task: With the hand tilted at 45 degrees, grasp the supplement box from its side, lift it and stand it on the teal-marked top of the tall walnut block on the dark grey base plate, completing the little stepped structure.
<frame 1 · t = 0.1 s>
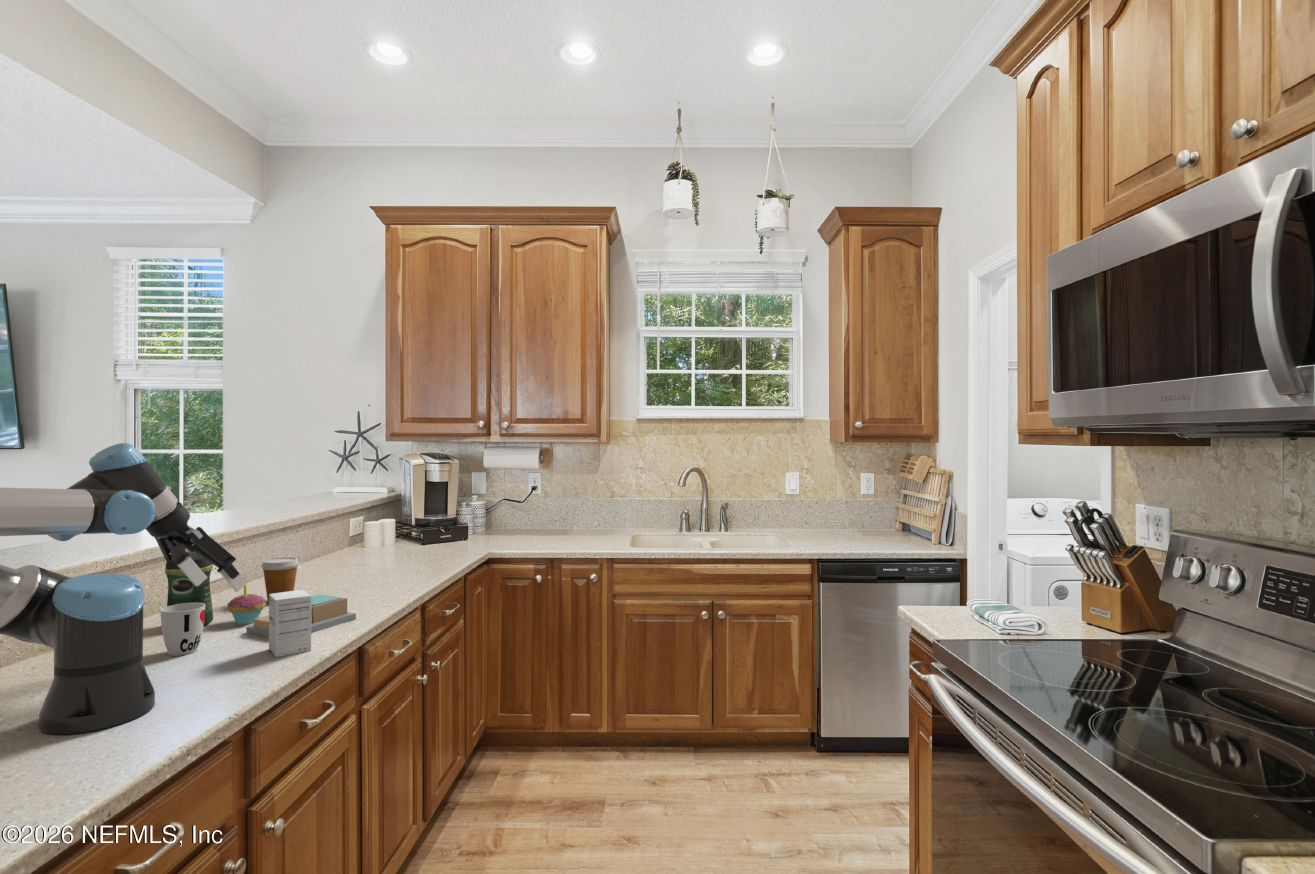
hand: (221, 584, 144), 15 cm above the worktop, tool tilted 35°, fingers open, 13 cm apart
coffee jar: (189, 626, 165), on the worktop
cupcake: (246, 622, 168), on the worktop
disposable coffee cup: (280, 601, 189), on the worktop
supplement box: (289, 651, 147), on the worktop
cup: (182, 652, 145), on the worktop
build base: (303, 625, 165), on the worktop
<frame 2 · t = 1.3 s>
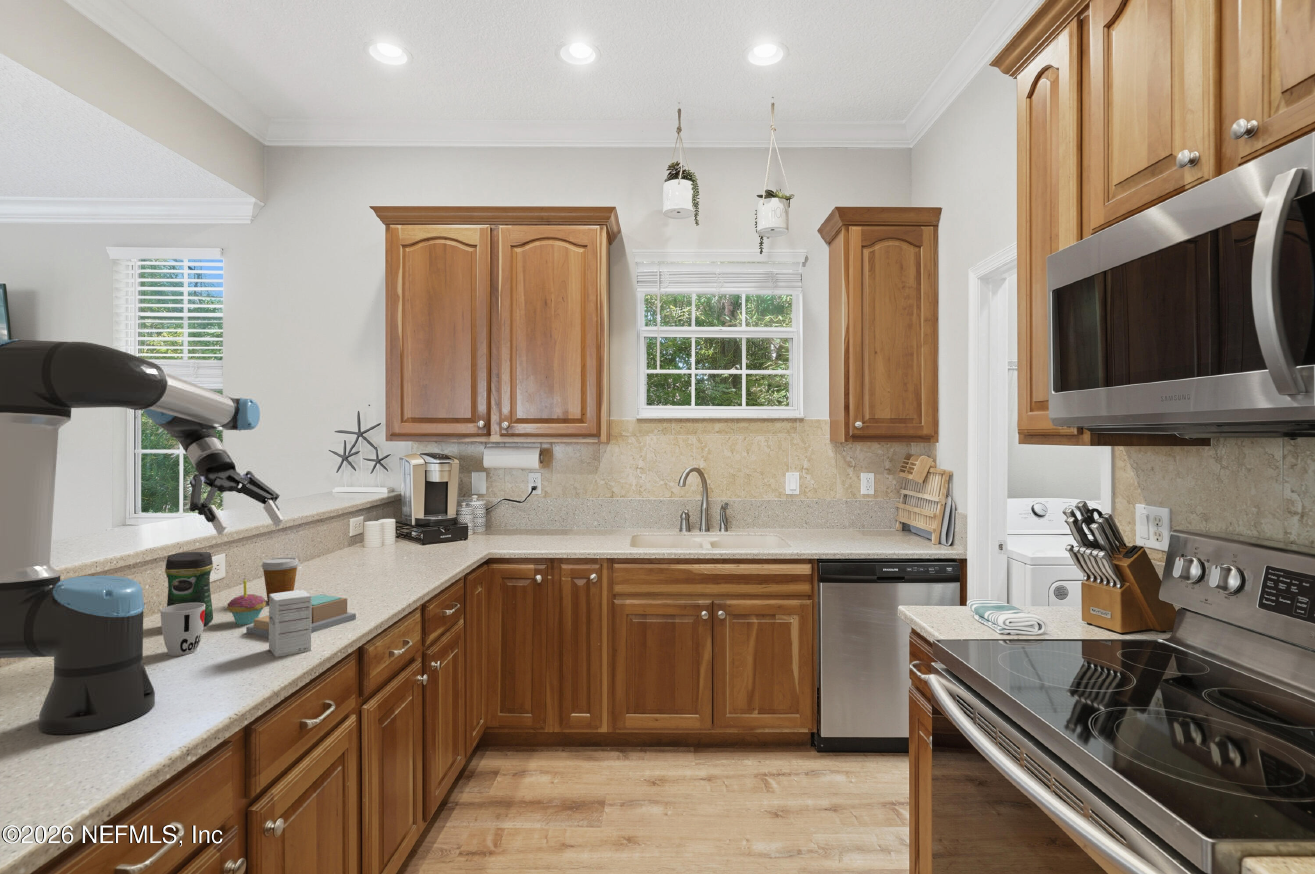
hand: (252, 527, 152), 27 cm above the worktop, tool tilted 45°, fingers open, 13 cm apart
nothing on the worktop moved.
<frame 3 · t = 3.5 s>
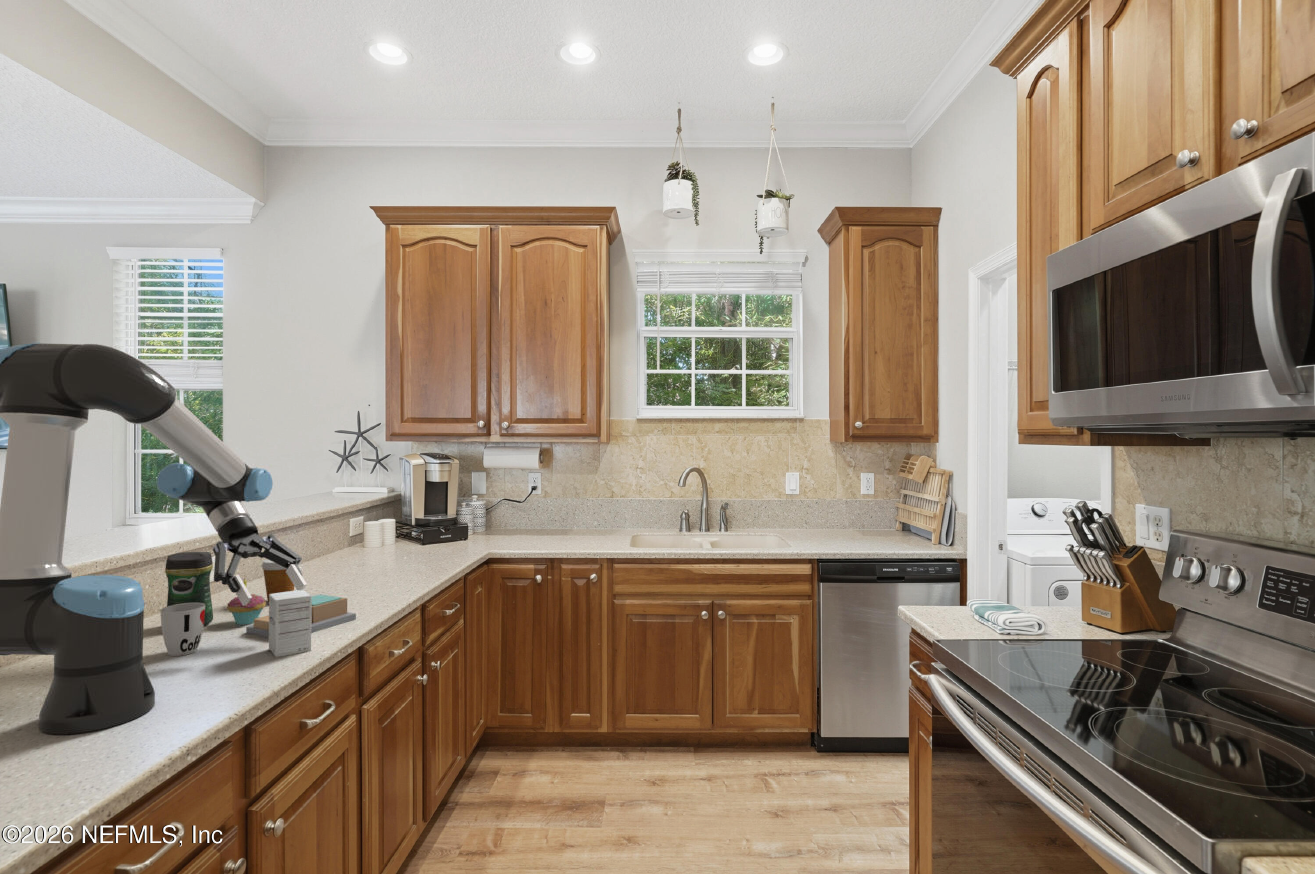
hand: (276, 594, 150), 11 cm above the worktop, tool tilted 45°, fingers open, 13 cm apart
nothing on the worktop moved.
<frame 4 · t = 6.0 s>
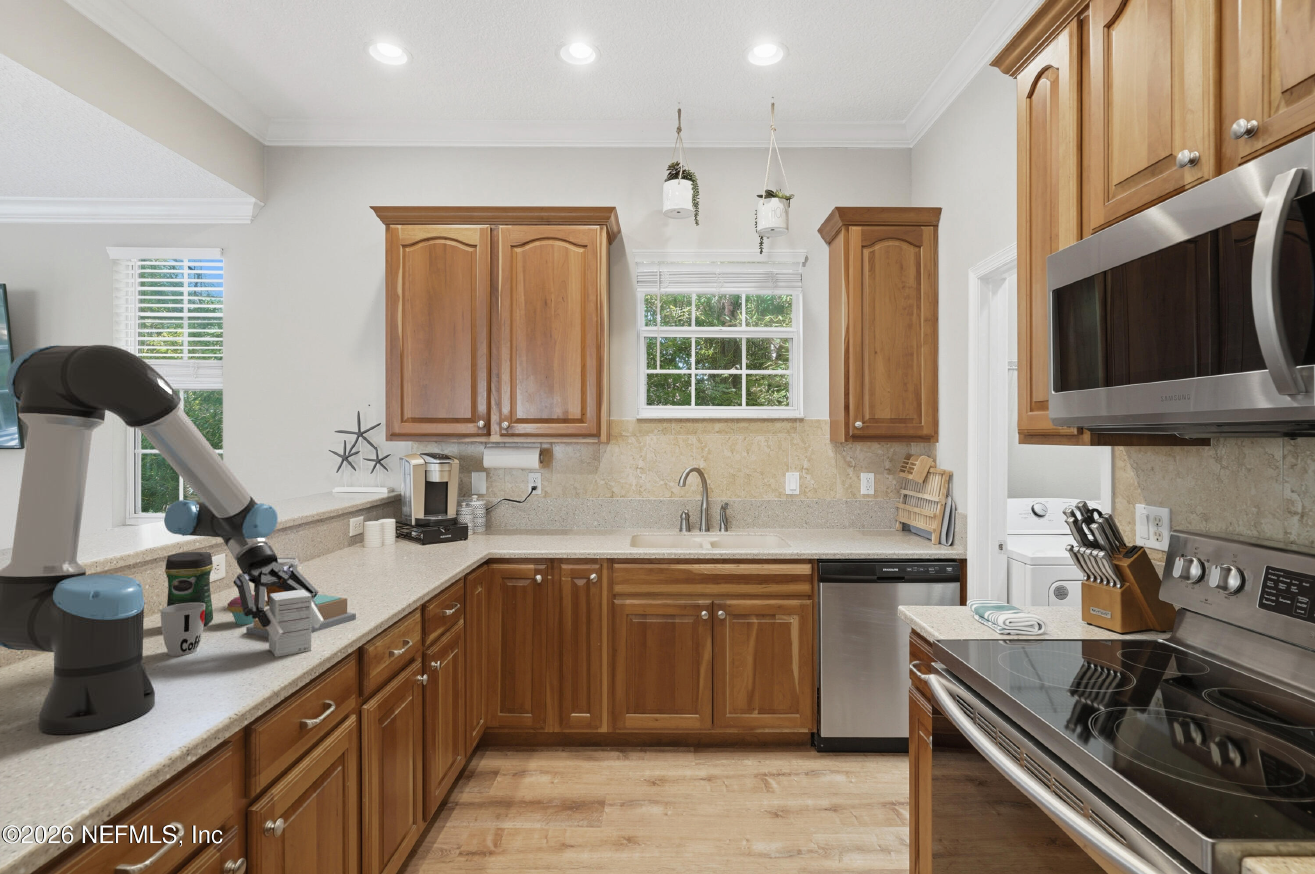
hand: (299, 630, 145), 5 cm above the worktop, tool tilted 45°, fingers closed on supplement box, 9 cm apart
supplement box: (289, 650, 147), on the worktop, touching gripper
everything else where it was.
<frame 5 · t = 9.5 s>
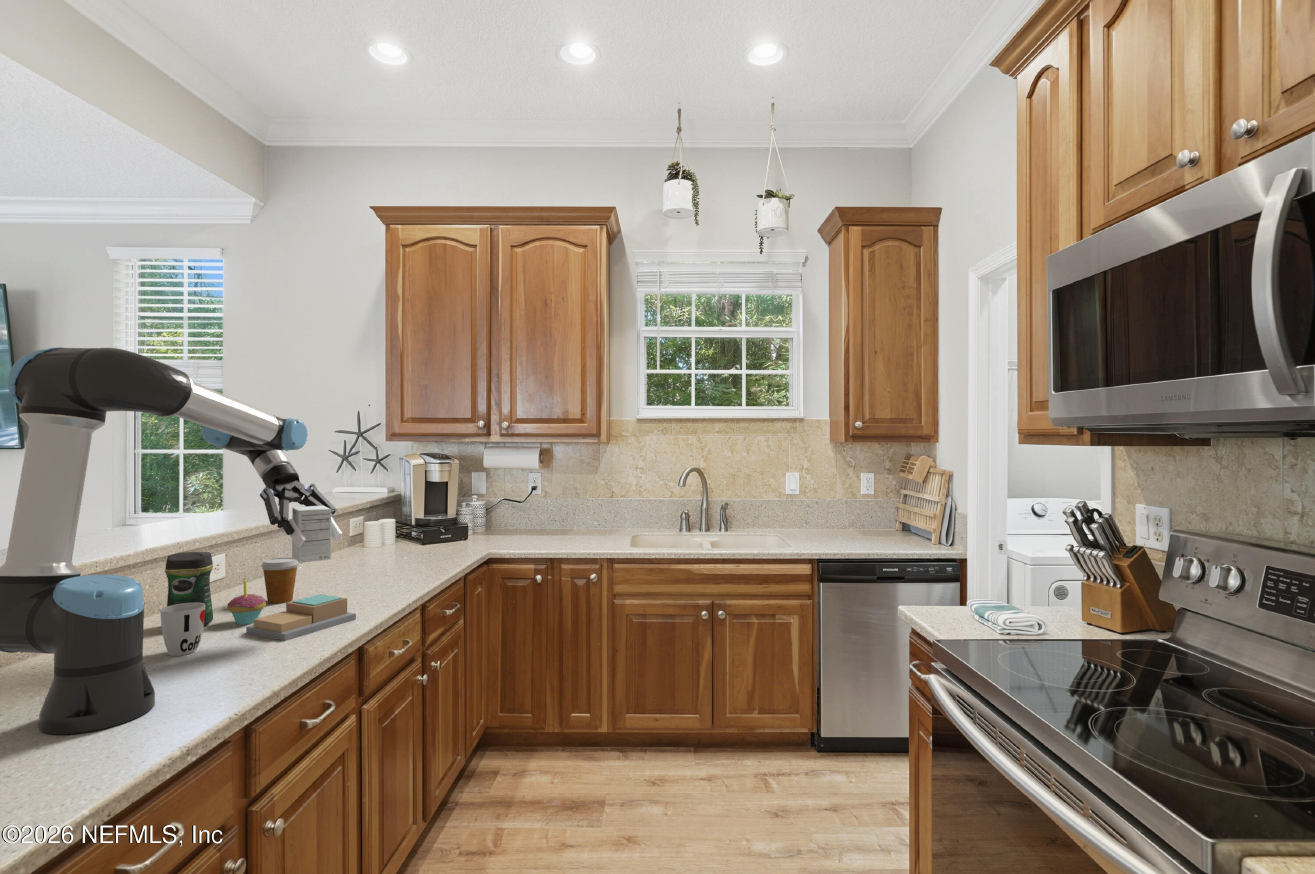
hand: (320, 540, 158), 23 cm above the worktop, tool tilted 45°, fingers closed on supplement box, 9 cm apart
supplement box: (311, 559, 160), point 18 cm above the worktop, touching gripper
everything else where it was.
when the fingers open (12 cm above the worktop, at t = 13.4 s): supplement box drops 1 cm, resting on build base.
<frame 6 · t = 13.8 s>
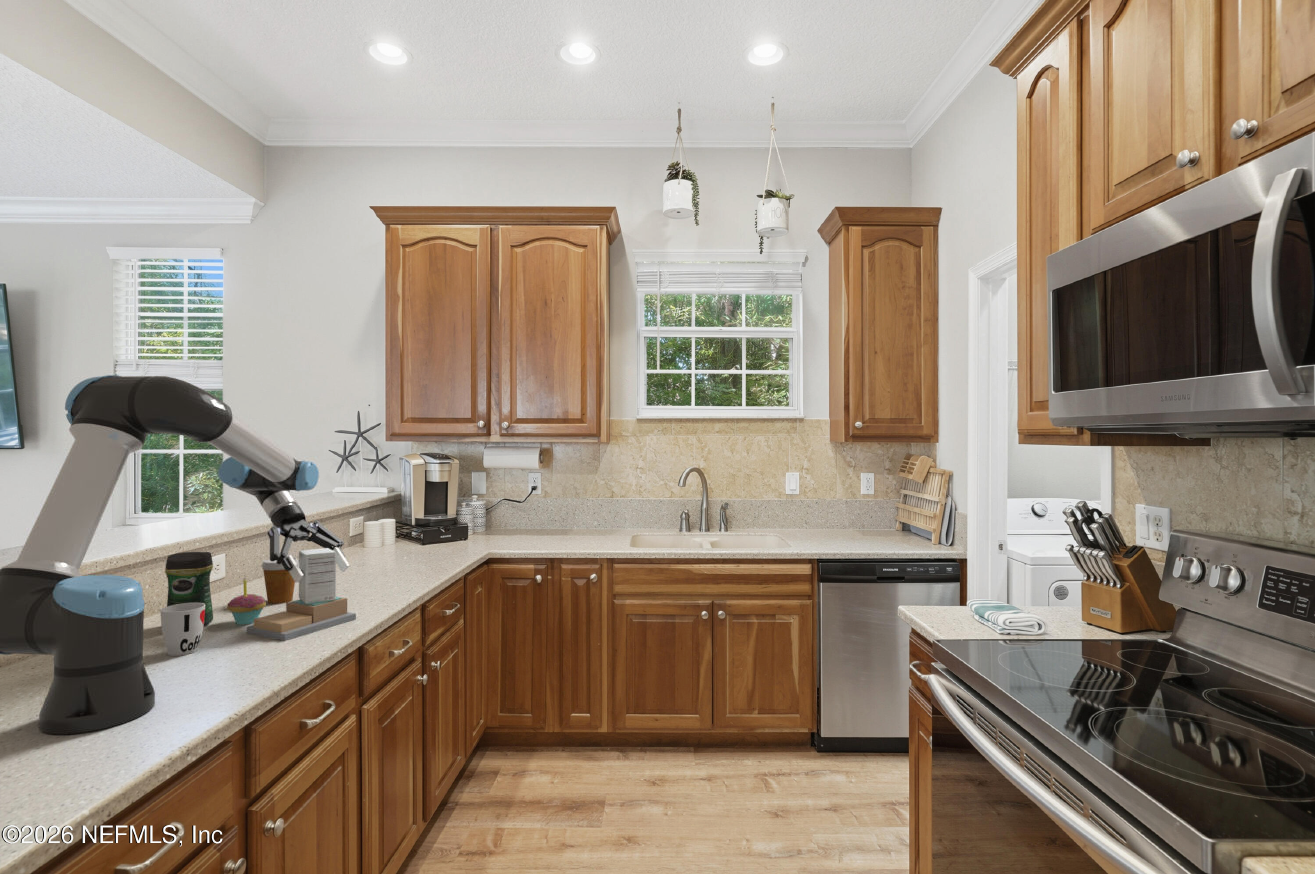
hand: (323, 573, 168), 13 cm above the worktop, tool tilted 45°, fingers open, 13 cm apart
supplement box: (317, 600, 169), point 6 cm above the worktop, touching build base
everything else where it was.
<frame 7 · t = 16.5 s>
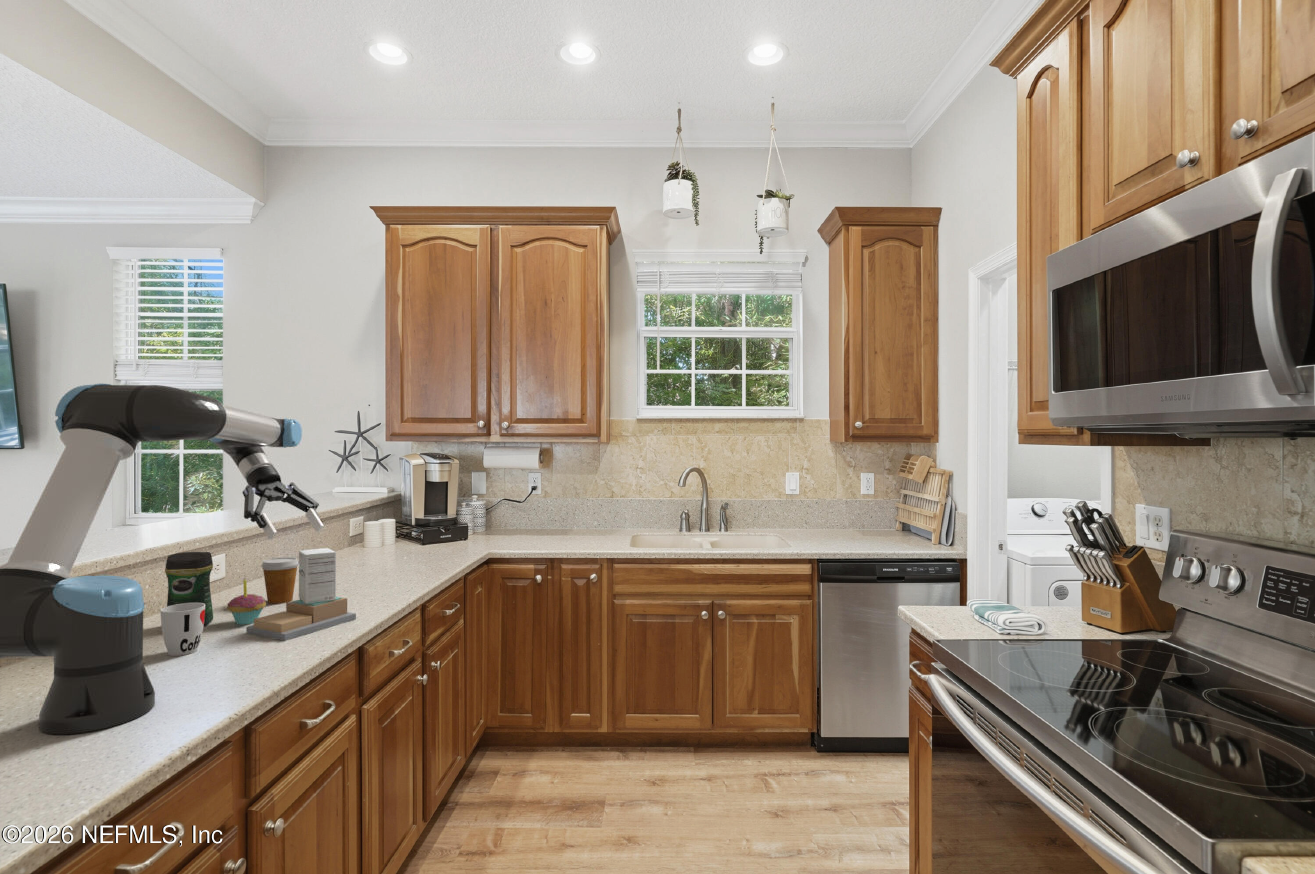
hand: (297, 532, 172), 23 cm above the worktop, tool tilted 45°, fingers open, 13 cm apart
nothing on the worktop moved.
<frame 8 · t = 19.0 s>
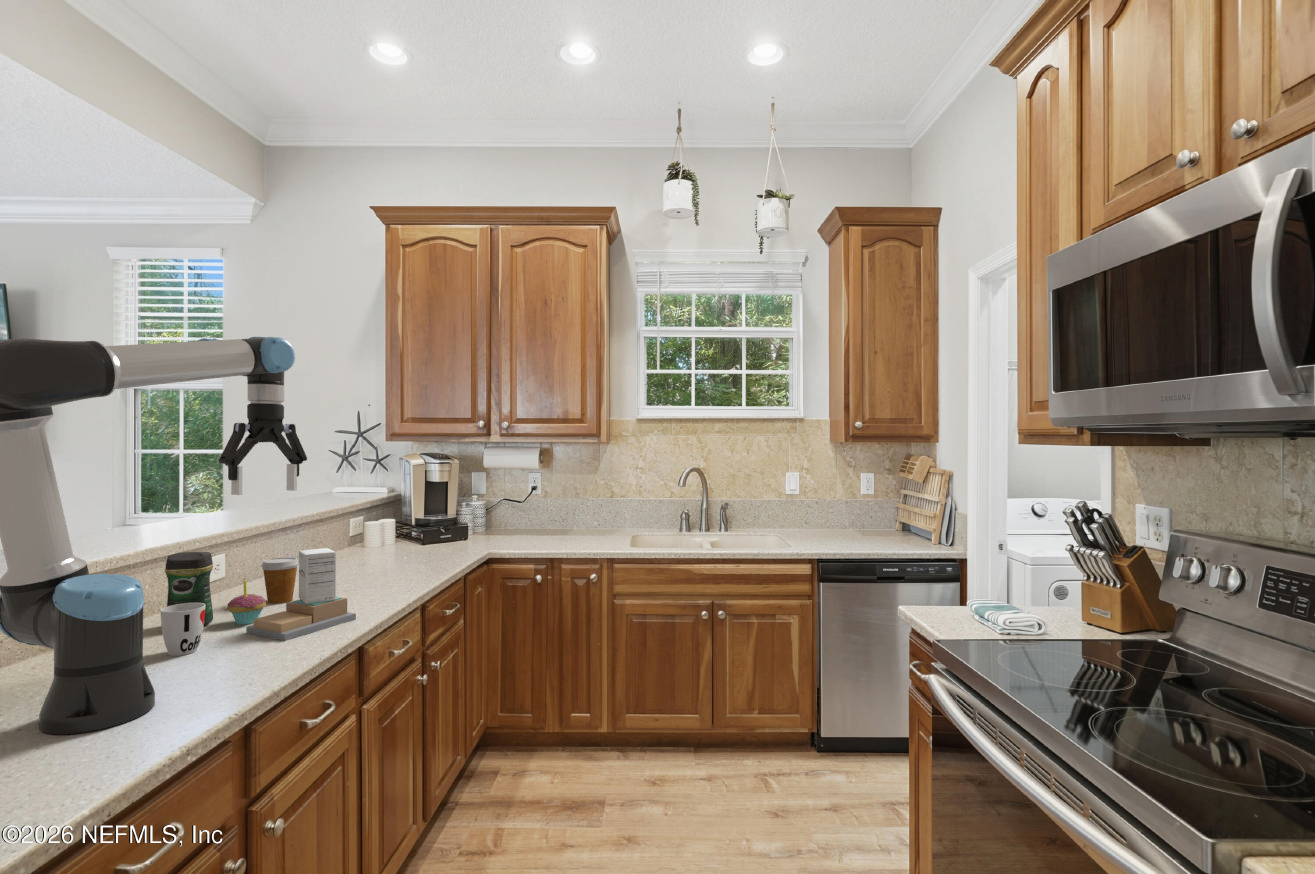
hand: (265, 492, 155), 35 cm above the worktop, tool pointing down, fingers open, 13 cm apart
nothing on the worktop moved.
at the end: supplement box 0.0 cm from the target spot on the build base, point 5.6 cm above the build base's base; supplement box tilted 0°; the gripper is holding nothing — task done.
